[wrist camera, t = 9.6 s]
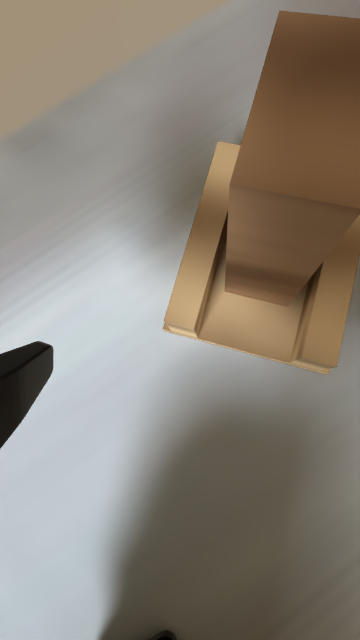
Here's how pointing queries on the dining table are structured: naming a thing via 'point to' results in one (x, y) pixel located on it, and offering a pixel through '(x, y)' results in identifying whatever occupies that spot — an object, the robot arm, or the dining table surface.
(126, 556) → the dining table surface
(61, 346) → the dining table surface
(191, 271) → the oak base
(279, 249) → the brown cardboard box
